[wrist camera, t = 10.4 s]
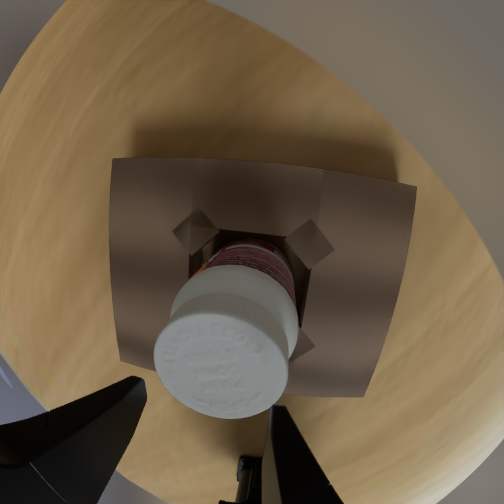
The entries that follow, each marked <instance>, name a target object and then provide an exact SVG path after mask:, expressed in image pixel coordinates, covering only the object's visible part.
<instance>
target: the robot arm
mask: <svg viewBox="0 0 504 504" xmlns="http://www.w3.org/2000/svg"><path fill="white" fill-rule="evenodd" d="M146 401H147V393H146V387H145V381H144V379H142V378H140V377H137V376H130V377H127V378H125V379H123V380H121V381H119V382H117V383H114V384H112V385H110V386H108V387H105V388H103V389H101V390H99V391H96V392H94V393H92V394H89V395H87V396H85V397H82V398H80V399H77V400H75V401H73V402H70V403H68V404H65V405H63V406H60V407H58V408H55V409H53V410H50V412H49V411H47V412H45V413H42V414H39V415H37V416H34V417H31V418H28V419H24V420H20V421H16V422H12V423H8V424H3V425H0V504H97V503H98V500H99V499H100V497H101V495H102V493H103V491H104V489H105V487H106V485H107V484H108V482H109V480H110V478H111V476H112V474H113V472H114V471H115V469H116V467H117V465H118V463H119V461H120V459H121V458H122V456H123V454H124V452H125V450H126V448H127V446H128V445H129V443H130V441H131V439H132V437H133V435H134V432H135V430H136V427H137V425H138V422H139V419H140V417H141V414H142V412H143V409H144V407H145V404H146ZM237 481H239V485H238V490H237V495H236V500H235V502H226V501H223V500H220V501H219V503H218V504H344V503H343V501H342V500H341V499H340V497H339V496H338V494H337V493H336V491H335V490H334V488H333V486H332V485H329V484H330V482H329V480H328V478H327V477H326V475H325V474H324V472H323V470H322V469H321V467H320V465H319V464H318V462H317V460H316V459H315V457H314V455H313V454H312V452H311V450H310V448H309V447H308V445H307V443H306V442H305V440H304V438H303V436H302V435H301V433H300V431H299V429H298V428H297V426H296V424H295V422H294V421H293V419H292V417H291V415H290V413H289V412H288V410H287V408H286V407H285V406H284V405H275V404H273V405H272V406H271V409H270V414H269V419H268V424H267V431H266V438H265V446H264V453H263V459H262V458H253V457H246V456H241V457H240V459H239V466H238V473H237Z"/></svg>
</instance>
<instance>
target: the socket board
mask: <svg viewBox="0 0 504 504" xmlns="http://www.w3.org/2000/svg"><path fill="white" fill-rule="evenodd" d="M416 191H417V187H416V186H411V185H407V184H403V183H398V182H393V181H389V180H384V179H379V178H373V177H368V176H363V175H357V174H351V173H345V172H339V171H333V170H326V169H319V168H312V167H304V166H296V165H287V164H278V163H268V162H256V161H244V160H229V159H210V158H174V157H147V158H113V160H112V171H111V185H110V208H109V252H110V274H111V289H112V301H113V311H114V319H115V327H116V335H117V342H118V348H119V354H120V360H121V361H122V362H126V363H129V364H132V365H135V366H139V367H142V368H146V369H149V370H153V371H156V368H155V363H154V346H155V343H156V340H157V337H158V335H159V333H160V332H161V330H162V329H163V327H164V326H165V325H166V324H167V322H168V321H169V320H170V314H171V309H172V305H173V302H174V300H175V297H176V296H177V294H178V292H179V291H180V289H181V288H182V287H183V286H184V285H185V284H186V282H187V281H188V280H189V279H190V278H191V277H192V276H193V275H194V274H195V273H196V272H197V271H198V270H199V269H200V268H201V263H202V248H203V247H204V246H205V245H207V244H208V243H209V242H210V241H211V240H212V239H214V238H215V237H216V236H217V235H218V234H219V233H221V232H222V231H223V230H233V231H242V232H252V233H261V234H269V235H278V236H284V239H285V240H286V242H287V243H288V244H289V245H290V247H291V248H292V249H293V250H294V252H295V253H296V254H297V255H298V257H299V258H300V259H301V261H302V262H303V263H304V264H305V266H306V270H305V276H304V283H303V289H302V295H301V301H300V307H299V310H298V308H297V309H296V310H297V315H298V338H297V342H296V346H295V348H294V351H293V353H292V355H291V356H290V358H289V360H288V380H287V383H286V387H285V389H284V391H283V393H282V394H289V395H302V396H319V397H364V395H365V392H366V390H367V388H368V385H369V383H370V380H371V378H372V375H373V372H374V370H375V367H376V364H377V362H378V359H379V356H380V353H381V350H382V347H383V344H384V341H385V338H386V335H387V332H388V329H389V326H390V322H391V319H392V316H393V312H394V308H395V305H396V301H397V297H398V293H399V289H400V285H401V281H402V277H403V272H404V268H405V263H406V258H407V253H408V248H409V242H410V236H411V230H412V223H413V217H414V209H415V201H416Z"/></svg>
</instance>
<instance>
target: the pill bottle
mask: <svg viewBox="0 0 504 504" xmlns="http://www.w3.org/2000/svg"><path fill="white" fill-rule="evenodd" d="M297 338H298V315H297V310H296V301H295V291H294V280H293V273H292V269H291V266H290V264H289V262H288V260H287V258H286V257H285V255H284V254H283V253H282V252H281V251H280V250H279V249H278V248H276V247H275V246H274V245H272V244H270V243H268V242H266V241H263V240H260V239H254V238H244V239H239V240H235V241H233V242H230V243H229V244H227V245H225V246H224V247H223V248H221V249H220V250H219V251H218V252H217V253H216V254H215V255H214V256H212V257H211V258H210V259H209V260H208V261H207V262H206V263H205V264H204V265H203V266H202V267H201V268H200V269H199V270H198V271H197V272H196V273H195V274H194V275H193V276H192V277H191V278H190V279H189V280H188V281H187V282H186V284H185V285H184V286H183V287H182V288H181V289H180V291H179V292H178V294H177V296H176V297H175V300H174V302H173V305H172V309H171V314H170V320H169V321H168V322H167V324H166V325H165V326H164V327H163V329H162V330H161V332H160V333H159V335H158V337H157V340H156V343H155V346H154V363H155V368H156V371H157V373H158V375H159V377H160V380H161V381H162V383H163V384H164V386H165V387H166V388H167V389H168V391H169V392H170V393H171V394H172V395H173V396H174V397H175V398H177V399H178V400H179V401H180V402H182V403H183V404H184V405H186V406H188V407H189V408H191V409H193V410H195V411H197V412H199V413H202V414H205V415H208V416H212V417H217V418H225V419H238V418H245V417H250V416H253V415H256V414H259V413H261V412H263V411H265V410H266V409H268V408H270V407H271V406H272V405H273V404H274V403H275V402H276V401H277V400H278V399H279V398H280V396H281V395H282V393H283V391H284V389H285V387H286V383H287V380H288V360H289V358H290V356H291V355H292V353H293V351H294V348H295V346H296V342H297Z"/></svg>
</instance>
